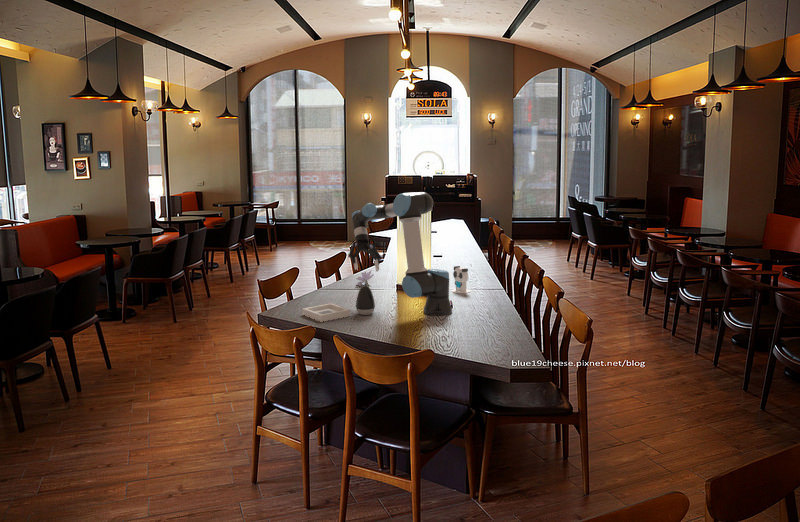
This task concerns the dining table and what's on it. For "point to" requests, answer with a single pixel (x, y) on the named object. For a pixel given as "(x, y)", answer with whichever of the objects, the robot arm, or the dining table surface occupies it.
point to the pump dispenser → (365, 301)
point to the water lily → (364, 278)
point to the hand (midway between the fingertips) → (367, 269)
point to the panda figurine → (460, 279)
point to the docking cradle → (326, 312)
